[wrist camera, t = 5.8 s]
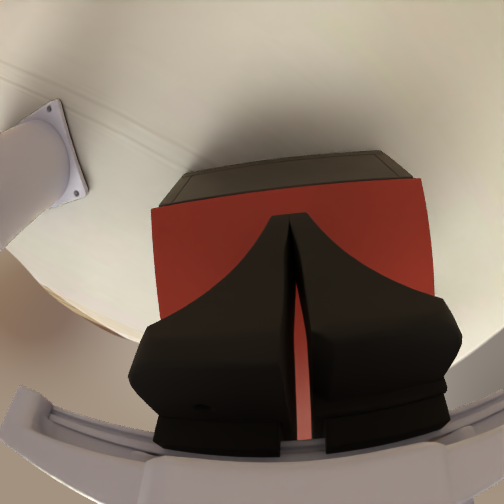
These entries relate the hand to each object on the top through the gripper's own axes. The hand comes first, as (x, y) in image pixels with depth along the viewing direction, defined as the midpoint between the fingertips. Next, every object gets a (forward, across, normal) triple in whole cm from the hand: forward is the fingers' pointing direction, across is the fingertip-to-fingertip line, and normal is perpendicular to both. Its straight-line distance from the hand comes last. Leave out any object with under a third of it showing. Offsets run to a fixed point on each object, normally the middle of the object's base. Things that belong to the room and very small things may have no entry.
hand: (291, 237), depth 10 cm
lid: (-1, 0, +4) cm, 4 cm away
